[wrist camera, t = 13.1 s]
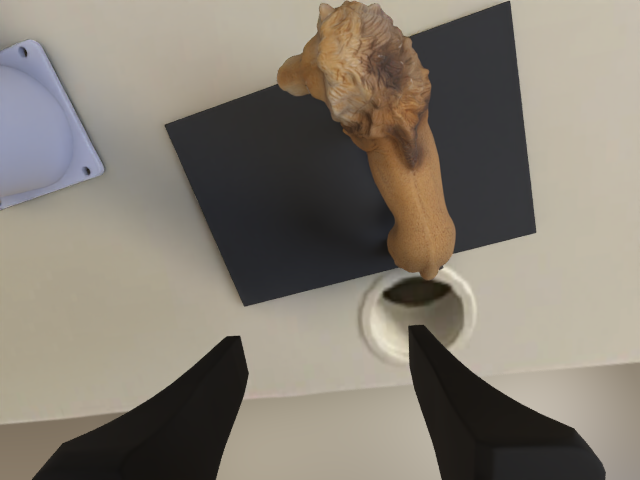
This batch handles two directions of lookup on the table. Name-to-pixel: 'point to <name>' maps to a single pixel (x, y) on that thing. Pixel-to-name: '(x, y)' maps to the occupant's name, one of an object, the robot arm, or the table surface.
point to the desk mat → (358, 168)
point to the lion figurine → (381, 122)
